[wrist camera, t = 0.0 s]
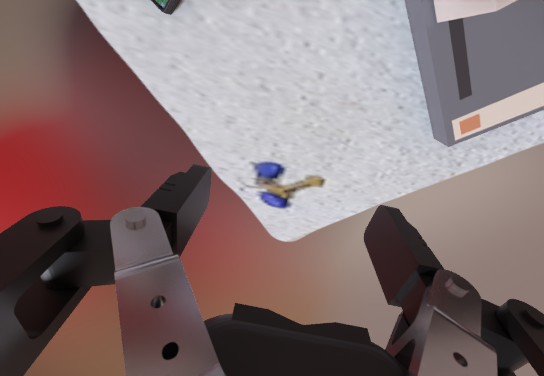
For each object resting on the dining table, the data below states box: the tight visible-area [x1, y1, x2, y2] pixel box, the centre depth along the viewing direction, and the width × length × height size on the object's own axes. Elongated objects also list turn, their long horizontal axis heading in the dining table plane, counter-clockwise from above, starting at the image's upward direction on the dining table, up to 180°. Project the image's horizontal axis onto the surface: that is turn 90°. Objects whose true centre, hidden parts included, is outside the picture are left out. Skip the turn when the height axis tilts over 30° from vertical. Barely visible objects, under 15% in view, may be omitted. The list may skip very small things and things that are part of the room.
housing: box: [405, 0, 544, 147], centre depth 28 cm, size 26×16×4 cm, turn 28°
